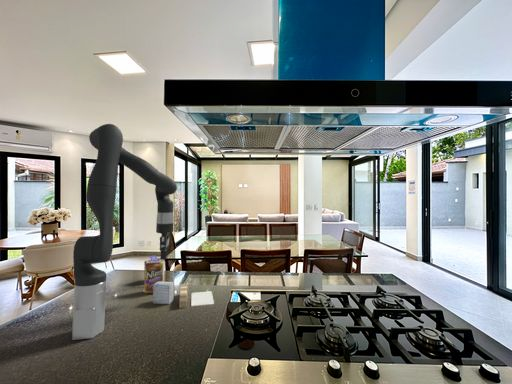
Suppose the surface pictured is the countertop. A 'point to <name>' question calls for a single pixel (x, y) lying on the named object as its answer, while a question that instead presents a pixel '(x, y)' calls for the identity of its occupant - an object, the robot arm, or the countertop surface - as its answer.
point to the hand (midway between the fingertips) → (164, 257)
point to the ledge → (183, 296)
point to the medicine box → (163, 292)
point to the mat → (202, 299)
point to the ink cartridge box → (151, 260)
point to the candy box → (153, 274)
